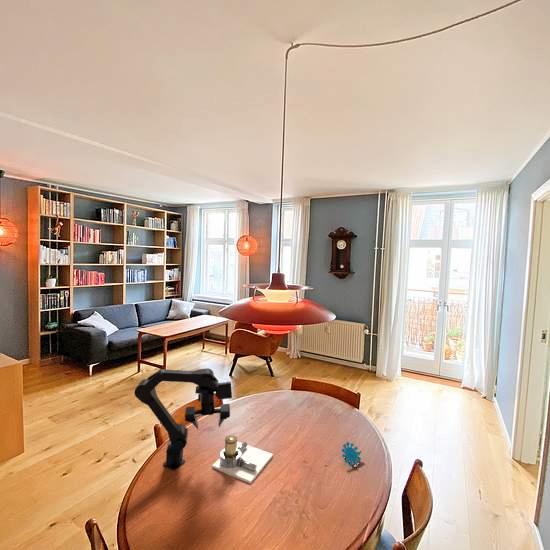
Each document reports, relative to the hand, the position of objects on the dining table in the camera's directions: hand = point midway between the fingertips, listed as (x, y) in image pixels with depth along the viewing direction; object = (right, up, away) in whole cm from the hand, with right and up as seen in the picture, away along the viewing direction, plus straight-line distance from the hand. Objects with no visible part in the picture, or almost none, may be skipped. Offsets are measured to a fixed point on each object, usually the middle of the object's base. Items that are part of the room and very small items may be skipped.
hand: (208, 427), depth 139 cm
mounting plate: (+16, -14, -3) cm, 21 cm away
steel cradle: (+15, -13, -3) cm, 20 cm away
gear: (+63, -17, +2) cm, 66 cm away
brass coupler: (+10, -12, -5) cm, 17 cm away
